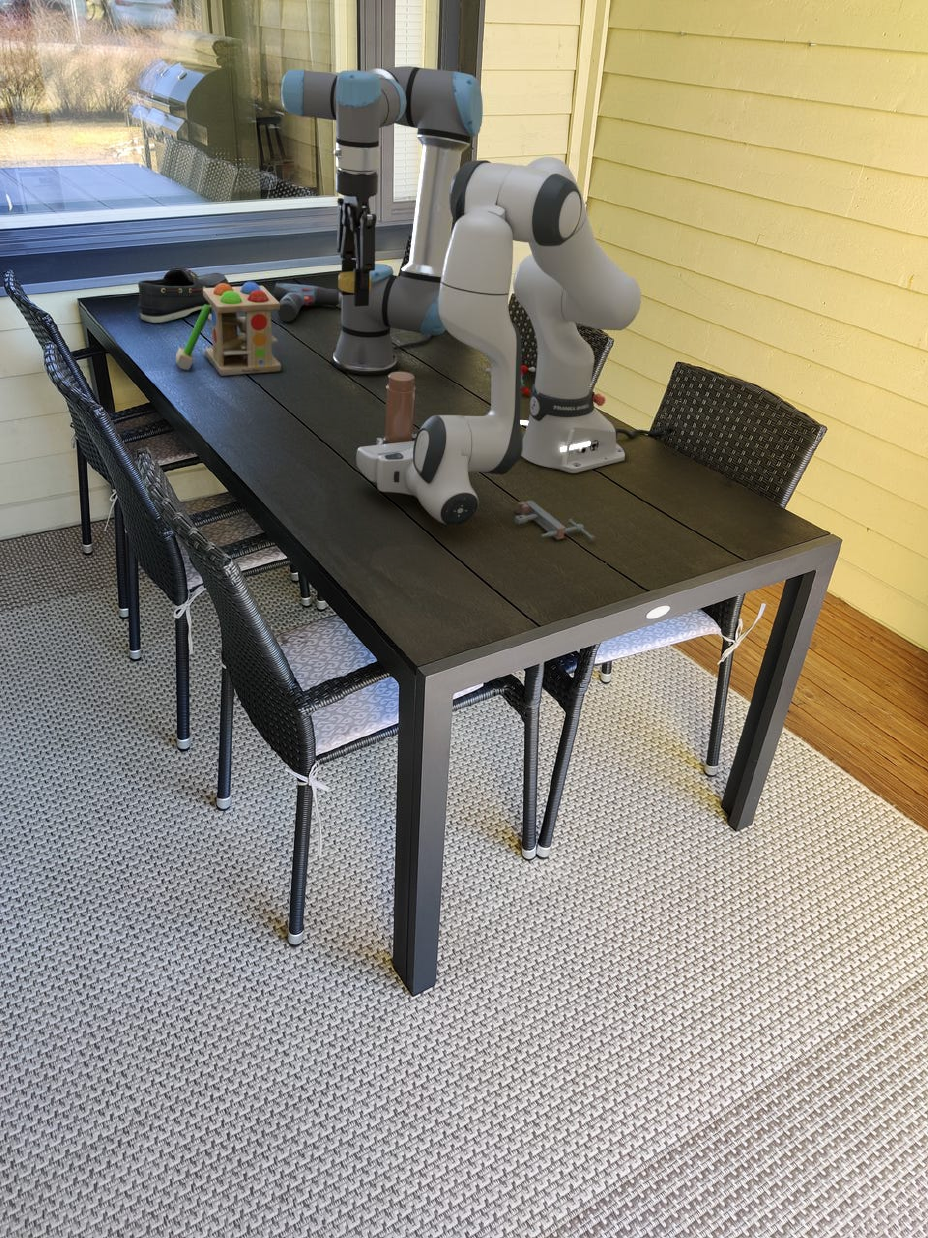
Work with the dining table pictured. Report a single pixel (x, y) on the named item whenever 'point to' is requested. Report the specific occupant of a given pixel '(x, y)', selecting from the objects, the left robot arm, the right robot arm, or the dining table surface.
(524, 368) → the molecular model
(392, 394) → the jar
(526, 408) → the dining table surface
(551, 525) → the clamp
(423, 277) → the left robot arm
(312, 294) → the power drill
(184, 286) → the boat shoe
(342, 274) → the lid
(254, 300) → the pounding bench toy
